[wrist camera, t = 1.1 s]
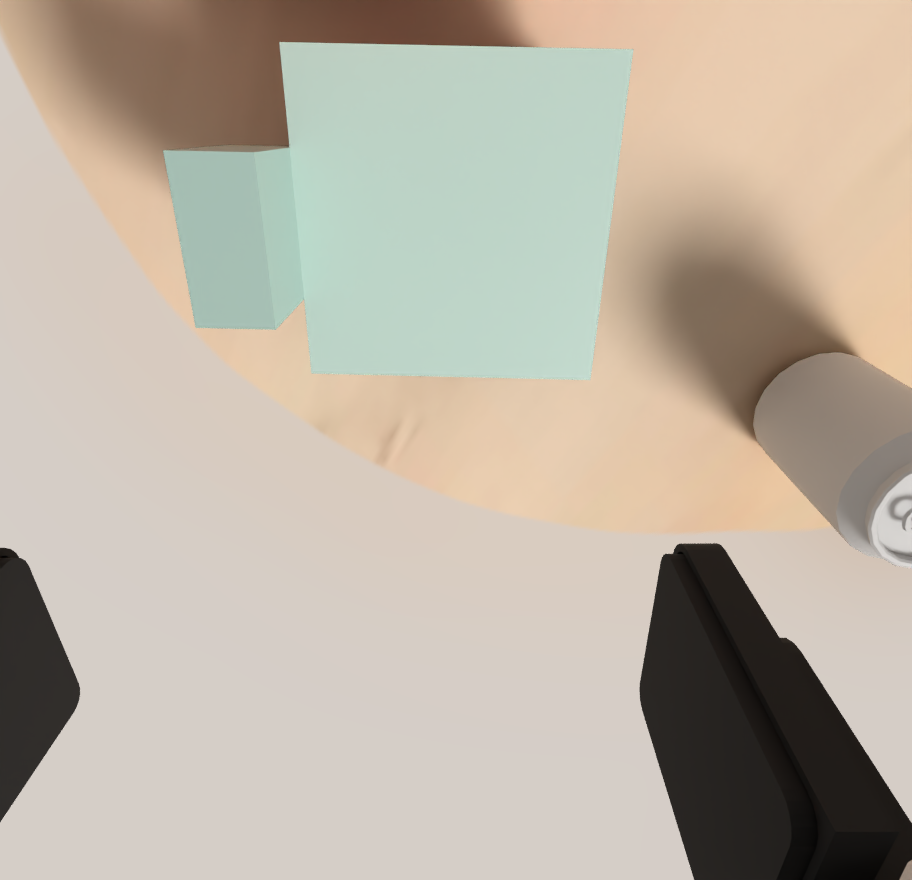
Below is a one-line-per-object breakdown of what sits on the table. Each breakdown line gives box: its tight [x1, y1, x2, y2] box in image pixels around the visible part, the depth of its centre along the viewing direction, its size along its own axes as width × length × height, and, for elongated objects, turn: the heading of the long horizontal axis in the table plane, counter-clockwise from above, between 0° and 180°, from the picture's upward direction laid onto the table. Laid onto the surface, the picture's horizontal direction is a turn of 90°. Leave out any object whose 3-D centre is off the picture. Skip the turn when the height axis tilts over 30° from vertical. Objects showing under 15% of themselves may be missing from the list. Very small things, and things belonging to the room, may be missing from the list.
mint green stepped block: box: [163, 42, 633, 380], centre depth 24 cm, size 13×16×7 cm
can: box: [753, 352, 912, 568], centre depth 32 cm, size 8×8×12 cm
